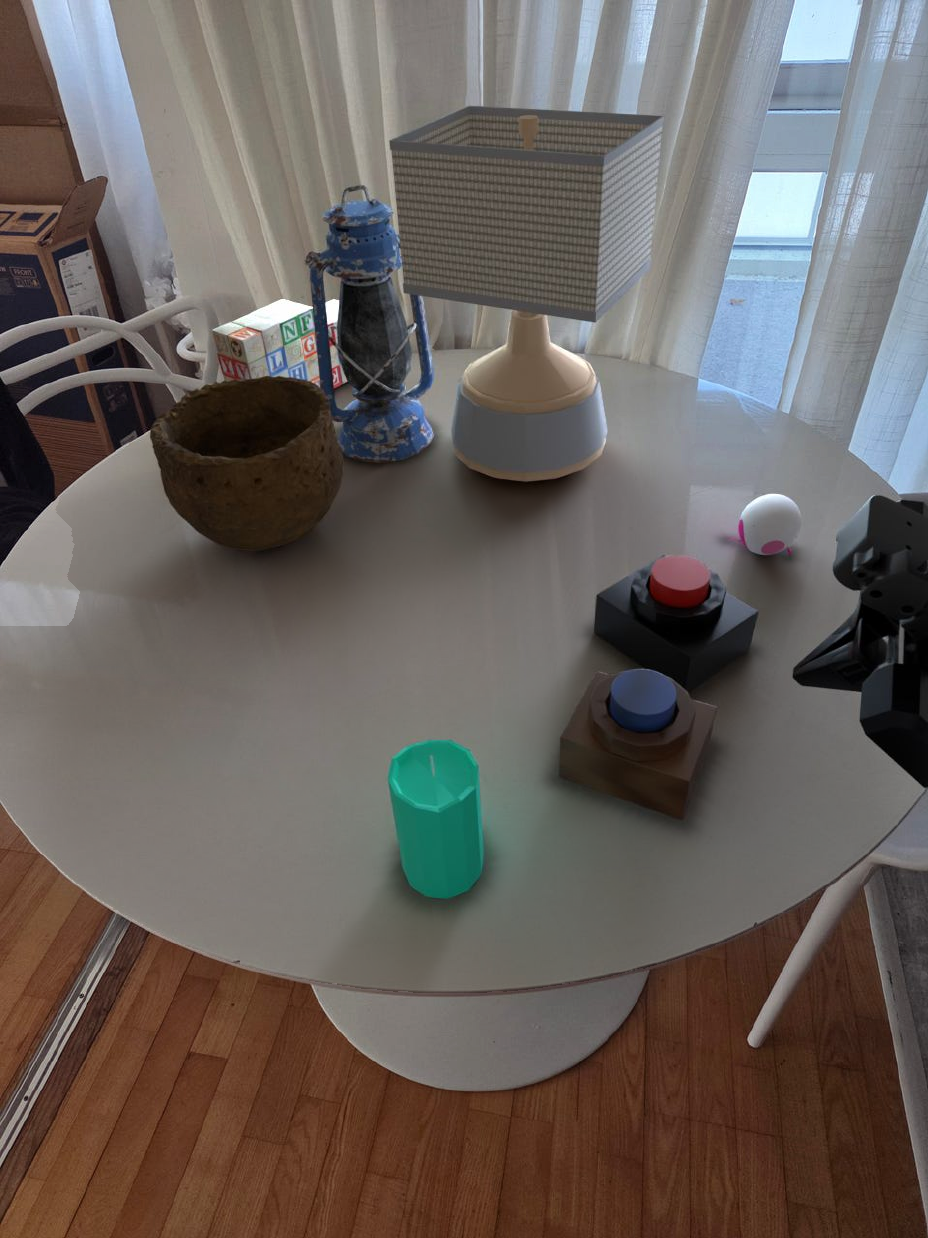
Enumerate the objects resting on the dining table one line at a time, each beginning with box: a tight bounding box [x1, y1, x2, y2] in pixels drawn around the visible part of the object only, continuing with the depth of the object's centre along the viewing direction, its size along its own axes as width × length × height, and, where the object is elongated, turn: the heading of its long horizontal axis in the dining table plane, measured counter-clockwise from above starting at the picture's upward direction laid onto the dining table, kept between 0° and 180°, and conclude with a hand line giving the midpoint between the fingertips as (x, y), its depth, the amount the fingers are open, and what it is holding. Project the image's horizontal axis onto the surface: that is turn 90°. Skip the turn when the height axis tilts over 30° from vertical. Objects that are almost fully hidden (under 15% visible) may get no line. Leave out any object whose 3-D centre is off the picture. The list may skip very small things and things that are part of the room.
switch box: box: [593, 554, 760, 694], centre depth 77 cm, size 11×9×6 cm
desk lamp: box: [389, 105, 665, 483], centre depth 94 cm, size 22×19×37 cm
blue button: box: [610, 668, 677, 733], centre depth 64 cm, size 5×5×2 cm
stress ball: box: [727, 493, 802, 556], centre depth 88 cm, size 8×8×7 cm
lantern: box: [303, 184, 435, 464], centre depth 101 cm, size 15×12×30 cm
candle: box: [387, 739, 485, 900], centre depth 59 cm, size 6×6×12 cm
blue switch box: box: [558, 670, 718, 821], centre depth 67 cm, size 10×8×6 cm
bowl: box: [149, 376, 345, 552], centre depth 91 cm, size 19×19×15 cm
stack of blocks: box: [211, 298, 348, 389], centre depth 118 cm, size 21×6×12 cm, turn 141°
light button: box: [649, 554, 710, 608], centre depth 75 cm, size 5×5×2 cm
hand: (796, 677), depth 57 cm, fingers closed
